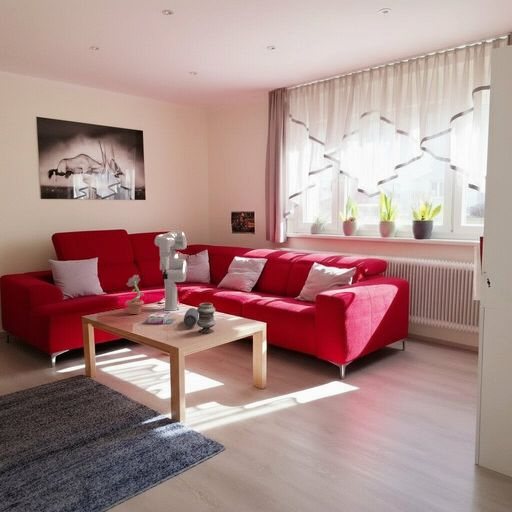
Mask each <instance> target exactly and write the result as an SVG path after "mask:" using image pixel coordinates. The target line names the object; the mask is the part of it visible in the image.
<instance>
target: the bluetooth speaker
mask: <svg viewBox="0 0 512 512" xmlns="http://www.w3.org/2000/svg"><path fill="white" fill-rule="evenodd" d="M198 320H199V313H198V312H197V308H194V307H190V308H189V309H187V310H186V311H185V313H184V316H183V323H184V324H183V325H185V326H186V327H188V328H193V327H194V326H195V325H197V321H198Z"/></svg>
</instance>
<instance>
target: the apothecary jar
mask: <svg viewBox="0 0 512 512" xmlns="http://www.w3.org/2000/svg"><path fill="white" fill-rule="evenodd" d="M196 310H197V312H198V320H197V322H196V325H197V326H198V327H200V329H199V330H198V333H200V334H212V333H214V329H213V327H214V326H215V325H216V320H215V318H214V317H215V316H214V313H215V312H216V308H215V307H214V306H213V303H211V302H202V303H199V305H198V307H197V308H196Z"/></svg>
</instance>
